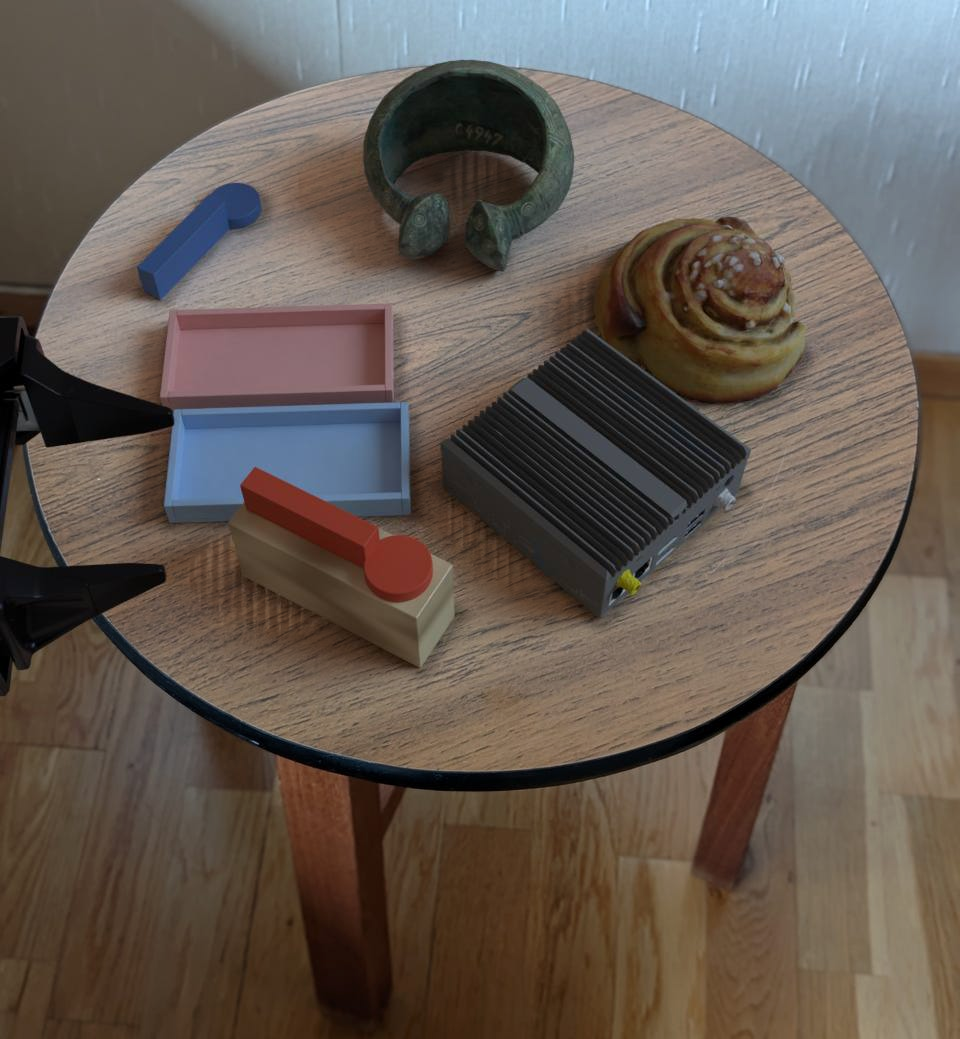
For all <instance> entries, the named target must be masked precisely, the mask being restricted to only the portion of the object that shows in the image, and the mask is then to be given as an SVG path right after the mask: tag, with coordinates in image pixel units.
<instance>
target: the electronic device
mask: <svg viewBox="0 0 960 1039" xmlns="http://www.w3.org/2000/svg"><path fill="white" fill-rule="evenodd" d="M580 333H581V334H576V337H575V338H571V339H570V342H566V343H565V346H563V347H560V348H559V351H555V352H554V355H550V356H549V358H548V359H546V360H543V364H538V366H537V368H533V369H532V372H531V373H527V374H526V376H525V377H523V378H521V379H519V380H518V381H517V382H516V383H514V384H513V385H512V386H511V387H510V388H509V390H508V391H507V392H502V396H497V399H496V401H491V406H490V405H486V406H485V411H484V410H480V411H479V415H477V414H476V415H474V416H473V419H469V420H467V425H466V424H462V425H461V428H459V429H456V431H455V433H450V435H449V438H444V439H443V440H442V441H440V442H439V444H440V454H441V455H440V456H441V481H442V487H443V488H444V489H445V490H446V491H447V492H448V493H450V494H451V495H452V496H453V497H454V498H455V499H457V500H458V501H459V502H460V503H462V504H463V506H465V507H466V508H467V509H468V510H470V511H471V512H472V513H473V514H474V515H475V516H477V517H478V518H479V519H480V520H482V521H483V522H484V523H485V524H486V525H487V526H489V527H490V528H491V529H492V530H493V531H495V532H496V533H497V534H498V535H500V537H501V538H503V540H505V541H506V542H508V543H509V544H510V545H511V546H512V547H514V549H516V550H517V551H518V552H519V553H521V554H522V555H523V556H524V557H525V558H527V560H529V561H530V562H531V563H533V565H535V566H536V567H537V568H538V569H539V570H541V572H543V573H544V574H545V575H547V576H548V577H549V578H550V579H551V580H552V581H553V582H555V583H556V584H557V585H559V587H561V588H562V589H563V590H564V591H566V592H567V593H568V594H569V595H570V596H571V597H573V598H574V599H575V600H576V601H578V603H580V604H581V605H582V606H583V607H584V608H586V609H587V610H588V611H589V612H590V613H591V614H593V615H594V617H596V618H598V619H601V618H602V617H604V616H605V615H606V614H607V613H608V612H609V611H610V610H611V609H612V608H613V607H615V606H616V605H617V604H618V603H619V602H620V601H621V600H622V599H623V598H624V597H625V596H626V595H628V594H629V595H630V596H634V595H635V594H636V593H637V592H638V591H639V590H640V588H641V586H642V584H643V583H642V581H644V579H645V578H646V577H647V576H648V575H649V574H651V572H653V571H654V570H655V569H657V568H658V566H660V565H661V564H662V563H663V562H664V561H666V559H667V558H669V557H670V556H671V555H672V554H673V553H674V552H675V551H676V550H677V549H678V548H679V547H680V546H681V545H683V544H684V543H685V542H686V541H687V540H688V539H689V538H690V537H692V536H693V534H694V533H696V532H697V531H698V530H699V529H700V528H701V527H702V526H703V525H705V524H706V522H708V521H709V520H710V519H711V518H712V517H714V515H715V514H716V513H718V512H719V511H720V510H721V509H723V510H724V511H729V510H730V509H731V508H732V507H733V506H734V504H735V502H736V501H737V498H736V497H735V496H736V495H737V494H738V493H739V490H740V488H741V484H742V480H743V477H744V474H745V470H746V466H747V464H748V460H749V458H750V455H751V452H752V448H750V447H749V446H748V445H746V444H745V443H743V442H742V441H740V440H739V439H738V438H737V437H736V436H734V435H732V434H731V433H730V432H728V431H727V430H725V429H724V428H723V427H722V426H721V425H719V423H716V422H715V421H713V420H712V419H711V418H710V417H708V416H707V415H705V414H704V412H703V413H702V412H701V411H700V410H698V409H697V407H695V406H693V405H692V404H691V403H689V402H688V401H687V400H685V399H683V398H682V397H681V395H679V394H678V393H676V392H675V391H673V390H672V389H670V388H669V387H667V386H665V385H664V384H662V383H661V382H660V381H659V380H658V379H657V378H656V377H655V376H653V375H652V374H651V373H648V372H647V371H646V370H644V368H642V367H640V366H639V365H638V364H636V363H635V362H634V361H633V360H629V359H628V358H627V357H625V356H624V355H623V354H621V353H620V352H618V351H617V350H616V349H614V348H613V347H612V346H610V345H609V344H608V343H606V342H605V341H604V340H602V337H600V336H598V335H597V334H595V333H594V332H593V331H591V330H590V329H589V328H587V327H586V328H584V329H583V330H581V332H580Z"/></svg>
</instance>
